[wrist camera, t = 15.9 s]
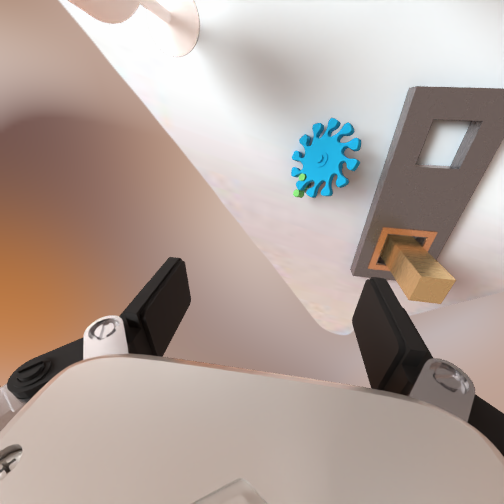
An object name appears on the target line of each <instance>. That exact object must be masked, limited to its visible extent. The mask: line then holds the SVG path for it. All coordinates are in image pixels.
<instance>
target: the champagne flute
mask: <svg viewBox="0 0 504 504" xmlns="http://www.w3.org/2000/svg"><path fill="white" fill-rule="evenodd" d="M68 1H69V2H71V3H72V4H74V5H76V6H77V7H79V8H80V9H82V10H83V11H85V12H86V13H88V14H89V15H91V16H92V17H94V18H95V19H97V20H100V21H102V22H105V23H111V24H115V23H121V22H124V21H126V20H127V19H129V18H130V17H131V16H132V15H133V14H134V13H135V11H136V10H137V8H138V6H139V4H141V5H142V6H143V7H145V8H146V9H148V22H149V27H150V30H151V33H152V36H153V38H154V40H155V42H156V43H157V45H158V46H159V47H160V48H161V49H162V50H163V51H164V52H165V53H167V54H169V55H171V56H175V57H181V56H184V55H186V54H188V53H189V52H190V51H191V50H192V49H193V47H194V46H195V44H196V42H197V39H198V35H199V15H198V11H197V8H196V5H195V3H194V1H193V0H68Z"/></svg>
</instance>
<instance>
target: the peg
mask: <svg viewBox="0 0 504 504" xmlns="http://www.w3.org/2000/svg"><path fill="white" fill-rule="evenodd" d="M380 256H381V258H382V259H383V261H384V262H385V264H386V265H387V267H388V268H389V270H390V272H391V273H392V275H393V276H394V278H395V279H396V281H397V283H398V284H399V286H400V287H401V289H402V290H403V292H404V293H405V295H406V297H407V298H408V300H412V301H421V302H429V303H438V304H441V303H442V301H443V300H444V298H445V297H446V295H447V294H448V292H449V290H450V289H451V287H452V286H453V284H454V283H455V281H456V279H455V278H454V277H453V276H452V275H451V274H450V273H449V272H448V271H446V270H445V269H444V268H443V267H442V266H441V265H440V264H439V263H438V262H437V261H436V260H435V259H434V258H433V257H432V256H431V255H430V254H429V253H428V252H427V251H426V250H425V249H424V248H423V247H422V246H421V245H420V244H419V243H418V242H417V241H416V240H415V239H414V238H413V237H411V236H400V235H389V234H388V236H387V239H386V241H385V244H384V246H383V249H382V252H381V254H380Z"/></svg>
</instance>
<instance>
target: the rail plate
mask: <svg viewBox="0 0 504 504" xmlns="http://www.w3.org/2000/svg"><path fill="white" fill-rule="evenodd" d="M433 119H442V120H467V121H471V123H470V126H469V128H468V130H467V132H466V134H465V136H464V138H463V140H462V143H461V145H460V147H459V149H458V151H457V153H456V155H455V157H454V160H453V162H452V164H451V166H435V165H418V164H416V162H417V160H418V157H419V155H420V152H421V150H422V147H423V145H424V142H425V139H426V137H427V134H428V132H429V129H430V127H431V124H432V122H433ZM503 138H504V89H495V88H457V87H419V86H416V87H412V88H409V90H408V93H407V96H406V99H405V102H404V106H403V109H402V112H401V115H400V118H399V121H398V124H397V127H396V130H395V133H394V136H393V140H392V143H391V146H390V149H389V152H388V155H387V158H386V161H385V164H384V167H383V170H382V173H381V177H380V180H379V183H378V186H377V189H376V192H375V195H374V198H373V201H372V204H371V207H370V211H369V214H368V217H367V220H366V223H365V226H364V229H363V232H362V235H361V238H360V241H359V244H358V248H357V251H356V254H355V257H354V260H353V263H352V266H351V269H350V270H351V272H352V275H353V276H360V277H369V278H371V277H378V278H385V279H387V280H396V279H395V278H394V276H393V275H392V273H391V272H390V270H389V268H388V267H387V265H386V264H385V262H384V261H383V259H382V258H379V257H380V254H381V252H382V249H383V246H384V244H385V241H386V239H387V236H388V234H389V235H400V236H411V237H417V238H416V241H417V242H418V243H419V244H420V245H421V246H422V247H423V248H424V249H425V250H426V251H427V252H428V253H429V254H430V255H431V256H432V257H433V258H434V259H435V260H436V259H437V257H438V256H439V254H440V252H441V250H442V248H443V246H444V245H445V243H446V241H447V239H448V237H449V236H450V234H451V232H452V230H453V228H454V227H455V225H456V223H457V221H458V219H459V218H460V216H461V214H462V212H463V210H464V209H465V207H466V205H467V203H468V201H469V200H470V198H471V196H472V194H473V192H474V191H475V189H476V187H477V185H478V183H479V181H480V180H481V178H482V176H483V174H484V172H485V171H486V169H487V167H488V165H489V163H490V162H491V160H492V158H493V156H494V154H495V153H496V151H497V149H498V147H499V145H500V144H501V142H502V140H503Z"/></svg>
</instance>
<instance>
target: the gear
mask: <svg viewBox="0 0 504 504" xmlns="http://www.w3.org/2000/svg"><path fill="white" fill-rule="evenodd" d="M340 124H341V123H340V122H339V121H338V120H336V119H334V118H331V119H330V120H329V122H328V127H327V129H326V131H325V133H324V134H323V136H322V137H321V138H319V136H320V134H321V133H322V132H323V130H324V125H323V124H321V123H317V124H314V125H313V128H312V129H313V133H314V137H313V141H312V144H311V145H310V146H309V143H310V137H309V136H308V135H306V134H305V135H304V136H302V137H301V138H300V140H299V141H300V143H301V144H302V145H303V146H304V148H305V156H304V157H302V153H301V152H299V151H295V152H294V154H293V156H292V159H293V160H295V161H300V162H301V163H302V164H303V169H302V170H300V169H299V168H296V167H293V168H292V172H291V176H293V177H298V176H299V180H300V181H297V183H296V186H297V188H298V190H295V191H294V193H293V195H294V196H295V197H300V198H302V197H303V196H304V192H305V193H306V194H307V195H308V196H310V197H313V198H315V197H316V196H317V192H318V189H319V187H320V186H321V184H322V183H323V182H326V185H325V187H324V188H323V189H322V190H321V195H323V196H332V194H333V190H332V180H333V177H334V176H335V175H337V176H338V177H337V180H336V185H337V187H340V188H342V187H344V186H346V185H347V184H348V183H349V180H348V179H347V178H346V177H345V176H344V175H343V173H342V168H343V165H342V164H343V163H345V162H346V164H347V168H348V169H349V170H351V171H355V170H356V169H357V168H358V166H359V164H360V161H358V160H357V159H354V158H353V159H349V158H347V157H346V156H345V155H344V151H345V150H346V149H347V148H350V149H352V150H353V151H359V150H360V148H361V140H360V139H358V138H354V139H352V140H351V141H349V142H347V143H340V139H341V138H342V137H343V136H351V135H352V134H353V133H354V128H353V126H352V125H351V124H350V123H349V122H348V123H346V124H344V126H343V127H342V129H341V130H340V131H339V132H338V133H337V134H335V135H334V136H332V137H331V133H332V132H333V131H334V130H336V129H338V128H339V126H340Z"/></svg>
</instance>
